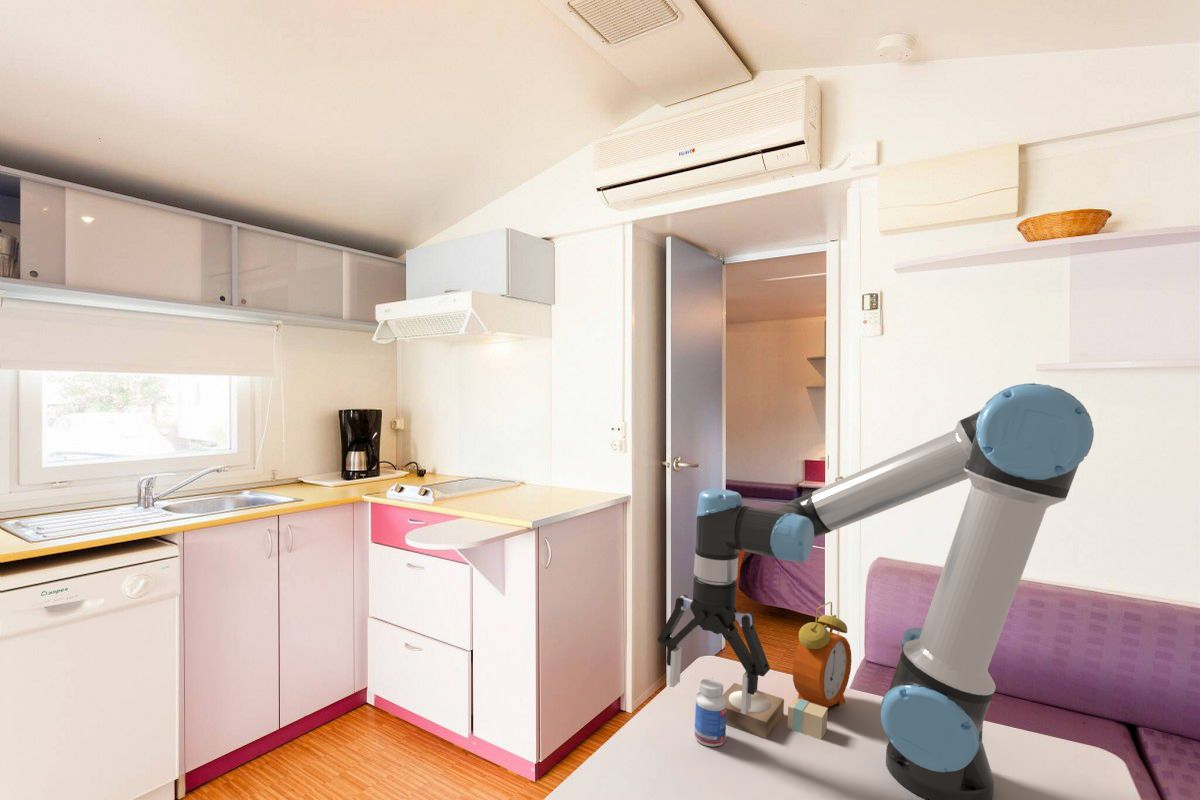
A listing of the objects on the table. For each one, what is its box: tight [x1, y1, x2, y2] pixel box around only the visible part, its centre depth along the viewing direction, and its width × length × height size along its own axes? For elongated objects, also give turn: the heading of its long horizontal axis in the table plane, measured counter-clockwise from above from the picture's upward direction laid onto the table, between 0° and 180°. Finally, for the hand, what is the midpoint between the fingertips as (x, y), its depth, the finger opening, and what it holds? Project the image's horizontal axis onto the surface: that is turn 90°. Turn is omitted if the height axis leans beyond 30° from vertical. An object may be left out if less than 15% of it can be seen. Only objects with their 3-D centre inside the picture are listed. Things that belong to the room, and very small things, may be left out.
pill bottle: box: [694, 678, 727, 748], centre depth 104 cm, size 6×5×10 cm
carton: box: [787, 697, 829, 740], centre depth 109 cm, size 6×4×4 cm
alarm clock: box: [792, 601, 852, 709], centre depth 117 cm, size 13×6×20 cm, turn 133°
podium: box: [722, 682, 785, 739], centre depth 112 cm, size 10×10×3 cm
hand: (708, 696), depth 105 cm, fingers open, 13 cm apart
